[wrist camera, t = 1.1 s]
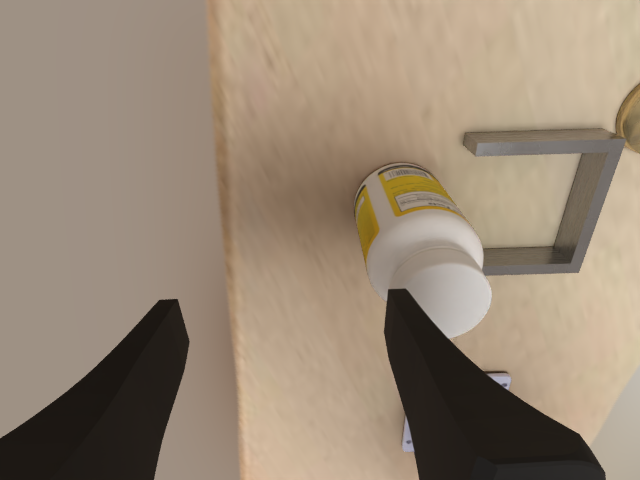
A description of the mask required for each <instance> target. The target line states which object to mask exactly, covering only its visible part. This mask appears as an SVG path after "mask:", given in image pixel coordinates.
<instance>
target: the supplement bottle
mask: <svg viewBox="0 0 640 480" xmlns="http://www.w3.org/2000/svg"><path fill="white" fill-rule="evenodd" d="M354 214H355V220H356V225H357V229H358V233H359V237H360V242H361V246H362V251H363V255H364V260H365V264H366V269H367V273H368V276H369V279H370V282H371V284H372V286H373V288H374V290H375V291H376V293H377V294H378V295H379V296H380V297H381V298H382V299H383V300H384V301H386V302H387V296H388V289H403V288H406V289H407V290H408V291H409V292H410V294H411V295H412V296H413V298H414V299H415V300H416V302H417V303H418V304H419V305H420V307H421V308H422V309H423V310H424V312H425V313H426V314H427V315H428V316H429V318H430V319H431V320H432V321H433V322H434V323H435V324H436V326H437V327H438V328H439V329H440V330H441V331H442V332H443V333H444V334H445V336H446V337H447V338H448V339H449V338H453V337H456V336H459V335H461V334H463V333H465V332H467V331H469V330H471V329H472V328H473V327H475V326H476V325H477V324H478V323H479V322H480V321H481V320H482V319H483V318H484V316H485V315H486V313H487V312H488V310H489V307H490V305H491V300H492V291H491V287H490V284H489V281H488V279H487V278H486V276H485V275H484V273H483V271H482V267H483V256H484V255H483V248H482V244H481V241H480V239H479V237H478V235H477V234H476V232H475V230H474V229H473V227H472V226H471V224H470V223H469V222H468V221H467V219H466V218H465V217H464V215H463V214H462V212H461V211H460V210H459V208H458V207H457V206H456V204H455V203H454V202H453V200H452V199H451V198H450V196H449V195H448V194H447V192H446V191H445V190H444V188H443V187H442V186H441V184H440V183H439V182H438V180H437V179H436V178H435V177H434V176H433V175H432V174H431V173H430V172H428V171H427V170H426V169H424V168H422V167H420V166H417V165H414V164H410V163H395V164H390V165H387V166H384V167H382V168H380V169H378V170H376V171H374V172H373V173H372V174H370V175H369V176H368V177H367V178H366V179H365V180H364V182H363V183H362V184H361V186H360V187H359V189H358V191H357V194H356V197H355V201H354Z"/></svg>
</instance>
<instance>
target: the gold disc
mask: <svg viewBox="0 0 640 480" xmlns="http://www.w3.org/2000/svg"><path fill="white" fill-rule="evenodd" d="M616 132H617V135H619V136H621V137H624V138H626V142H625V145H624V146H625V147H627V148H629V149H631V150H633V151H635V152H637V153H639V154H640V84H639V85H638V86H637V87H636V88H635V89H634V90H633V91H632V92H631V93H630V94H629V95H628V97H627V98H626V99H625V101H624V102H623V104H622V106H621V108H620V110H619V113H618V116H617V121H616Z"/></svg>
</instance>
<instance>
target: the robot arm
mask: <svg viewBox="0 0 640 480" xmlns="http://www.w3.org/2000/svg"><path fill="white" fill-rule="evenodd" d="M384 334H385V340H386V346H387V351H388V357H389V361H390V364H391V368H392V371H393V374H394V378H395V381H396V384H397V388H398V391H399V394H400V398H401V401H402V404H403V407H404V411H405V414H406V415H405V423H404V431H403V439H402V449H403V451H405V452H414V454H415V458H416V464H417V469H418V474H419V480H606V478H605V472H604V470H603V468H602V467H601V465H600V464H599V462H598V460H597V459H596V457H595V456H594V454H593V453H592V451H591V449H590V448H589V447H588V445H587V444H586V443H585V441H584V440H583V438H582V437H581V436H580V434H578V433H576V432H575V431H573V430H571V429H569V428H567V427H566V426H564V425H562V424H560V423H559V422H557V421H555V420H553V419H552V418H550V417H548V416H546V415H545V414H543V413H541V412H540V411H538V410H537V409H535V408H533V407H532V406H530V405H529V404H527V403H526V402H524V401H523V400H521V399H520V398H518V397H517V396H515V395H514V394H512V393H511V392H510V391H508V390H509V387H510V383H511V377H510V375H509V374H507V373H492V374H486V373H485V372H483V371H482V370H481V369H480V368H479V367H478V366H476V365H475V364H474V363H473V362H472V361H471V360H470V359H469V358H468V357H466V356H465V355H464V354H463V353H462V352H461V351H460V350H459V349H458V348H457V347H456V346H455V345H454V344H453V343H452V342H451V341H450V340H449V339H448V338H447V337H446V336H445V334H444V333H443V332H442V331H441V330H440V329H439V328H438V327H437V326H436V324H435V323H434V322H433V321H432V320H431V319H430V318H429V316H428V315H427V314H426V313H425V312H424V310H423V309H422V308H421V307H420V305H419V304H418V303H417V302H416V300H415V299H414V298H413V296H412V295H411V294H410V292H409V291H408V290H407V289H406V288H403V289H388V296H387V306H386V317H385V328H384ZM188 347H189V338H188V335H187V331H186V328H185V324H184V320H183V317H182V313H181V310H180V306H179V302H178V299H170V300H169V299H168V300H159V301H158V302H157V303H156V304H155V305H154V306H153V307H152V309H151V310H150V311H149V312H148V313H147V314H146V315H145V316H144V317H143V319H142V320H141V321H140V322H139V323H138V324H137V325H136V326H135V327H134V328H133V329H132V331H131V332H130V333H129V334H128V335H127V336H126V337H125V338H124V339H123V340H122V341H121V342H120V343H119V344H118V345H117V346H116V347H115V348H114V349H113V350H112V351H111V352H110V353H109V354H108V355H107V356H106V357H105V358H104V359H103V360H102V361H101V362H100V363H99V364H98V365H97V366H96V367H95V368H94V369H93V370H92V371H91V372H89V373H88V374H87V375H86V376H85V377H84V378H82V379H81V380H80V381H79V382H78V383H76V384H75V385H74V386H73V387H72V388H70V389H69V390H68V391H67V392H65V393H64V394H63V395H62V396H60V397H59V398H58V399H56V400H55V401H54V402H52V403H51V404H50V405H48V406H47V407H45V408H44V409H43V410H41V411H40V412H39V413H37V414H36V415H35V416H33V417H32V418H30V419H29V420H28V421H26V422H25V423H23V424H22V425H20V426H19V427H17V428H16V429H14V430H13V431H11V432H9V433H8V434H7V435H5V436H3V437H2V438H0V480H154V476H155V471H156V467H157V461H158V457H159V452H160V448H161V444H162V439H163V436H164V433H165V429H166V426H167V423H168V420H169V417H170V413H171V410H172V407H173V404H174V401H175V398H176V395H177V392H178V389H179V385H180V382H181V379H182V375H183V373H184V369H185V364H186V359H187V353H188Z"/></svg>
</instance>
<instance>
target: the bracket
mask: <svg viewBox="0 0 640 480" xmlns="http://www.w3.org/2000/svg"><path fill="white" fill-rule="evenodd" d="M625 142H626V138H624V137H621V136H619V135H616V134H614V133H612V132H609V131H607V130H605V129H575V130H542V131H509V132H477V133H465V137H464V144H463V145H464V146H465V147H466V148H467V149H468V150H469V151H470V152H471V153H472V154H473V155H475V156H505V155H538V154H571V153H583V154H582V157H581V160H580V164H579V167H578V170H577V173H576V177H575V180H574V183H573V186H572V190H571V193H570V196H569V199H568V203H567V206H566V209H565V212H564V216H563V219H562V222H561V225H560V229H559V232H558V235H557V239H556V242H555V245H554V247H532V248H499V249H483V255H484V256H483V267H482V271H483V273H484V275H485V276H486V275H520V274H553V273H579V271H580V268H581V265H582V262H583V260H584V257H585V254H586V251H587V248H588V246H589V243H590V240H591V237H592V234H593V232H594V229H595V226H596V223H597V220H598V218H599V215H600V212H601V209H602V206H603V204H604V201H605V198H606V195H607V192H608V189H609V187H610V184H611V181H612V178H613V175H614V173H615V170H616V167H617V164H618V161H619V159H620V156H621V153H622V150H623V147H624V145H625Z"/></svg>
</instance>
